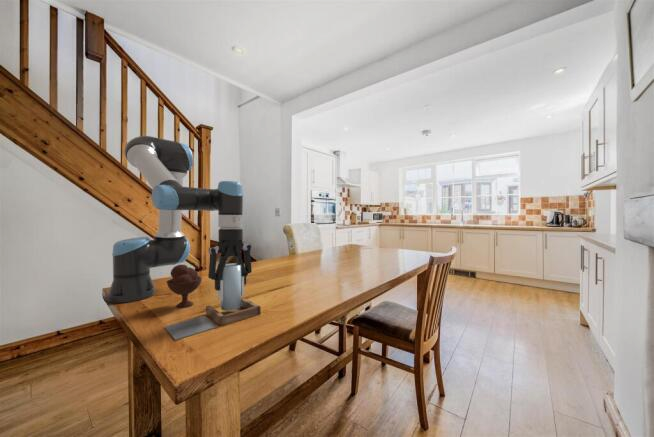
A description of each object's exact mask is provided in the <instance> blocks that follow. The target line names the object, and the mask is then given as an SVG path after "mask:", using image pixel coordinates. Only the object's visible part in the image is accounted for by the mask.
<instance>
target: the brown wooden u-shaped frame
mask: <svg viewBox="0 0 654 437" xmlns="http://www.w3.org/2000/svg"><path fill="white" fill-rule="evenodd" d="M241 307H242V308H244V309H241V310H238V311H235V312H231V313H227V314H222V312H220V311H218V310H217V309H215V308H214V307H212V306H211V305H207V306H205V314H206V316H208V317H209V318H211V319H212V320H213V321H214V322H216V323H217V324H218V325H219V326H221V327H223V326H226V325H230V324H232V323H236V322H240V321H243V320H245V319H249V318H252V317H255V316H257V315H258V316H260V315H261V312H262V311H261V305H258V304H257V303H254V302H252V301H251V300H249V299H246V298H244V296H243V297H242V296H241Z"/></svg>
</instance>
